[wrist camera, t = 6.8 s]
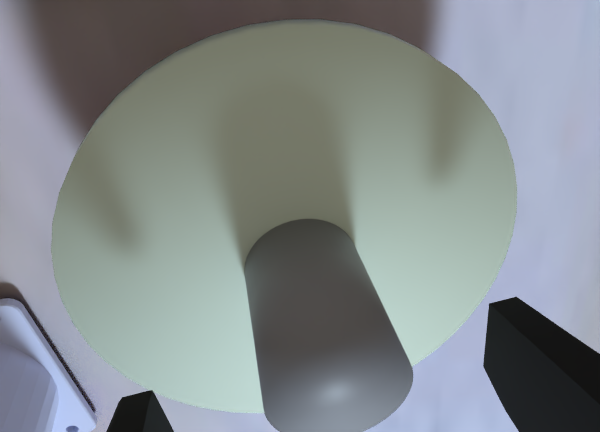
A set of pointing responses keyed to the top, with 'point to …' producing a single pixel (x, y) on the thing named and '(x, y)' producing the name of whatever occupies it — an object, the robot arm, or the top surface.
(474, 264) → the lid
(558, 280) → the top surface
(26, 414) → the robot arm
